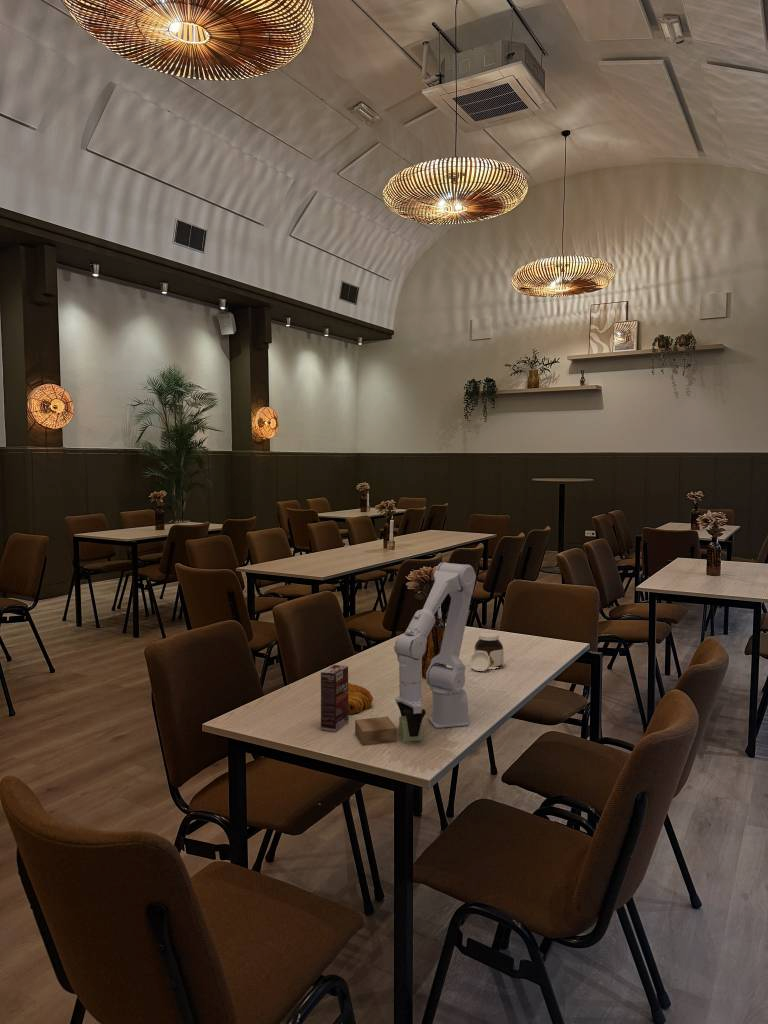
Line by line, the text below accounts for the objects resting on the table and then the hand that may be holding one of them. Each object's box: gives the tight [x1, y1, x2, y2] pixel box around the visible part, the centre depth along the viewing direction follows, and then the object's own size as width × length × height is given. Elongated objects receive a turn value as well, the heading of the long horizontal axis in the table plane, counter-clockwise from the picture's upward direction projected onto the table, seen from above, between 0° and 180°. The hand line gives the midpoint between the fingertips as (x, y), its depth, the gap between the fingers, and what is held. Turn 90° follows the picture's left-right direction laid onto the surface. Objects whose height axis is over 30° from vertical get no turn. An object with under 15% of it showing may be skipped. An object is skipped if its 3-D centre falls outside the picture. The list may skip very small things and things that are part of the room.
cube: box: [398, 715, 424, 743], centre depth 188 cm, size 5×5×5 cm
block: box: [354, 716, 398, 747], centre depth 188 cm, size 9×9×4 cm
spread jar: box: [469, 632, 504, 672], centre depth 252 cm, size 12×11×12 cm
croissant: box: [348, 682, 374, 715], centre depth 213 cm, size 14×16×8 cm
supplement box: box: [320, 664, 349, 733], centre depth 197 cm, size 9×5×16 cm, turn 158°
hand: (410, 731), depth 188 cm, fingers open, 6 cm apart
